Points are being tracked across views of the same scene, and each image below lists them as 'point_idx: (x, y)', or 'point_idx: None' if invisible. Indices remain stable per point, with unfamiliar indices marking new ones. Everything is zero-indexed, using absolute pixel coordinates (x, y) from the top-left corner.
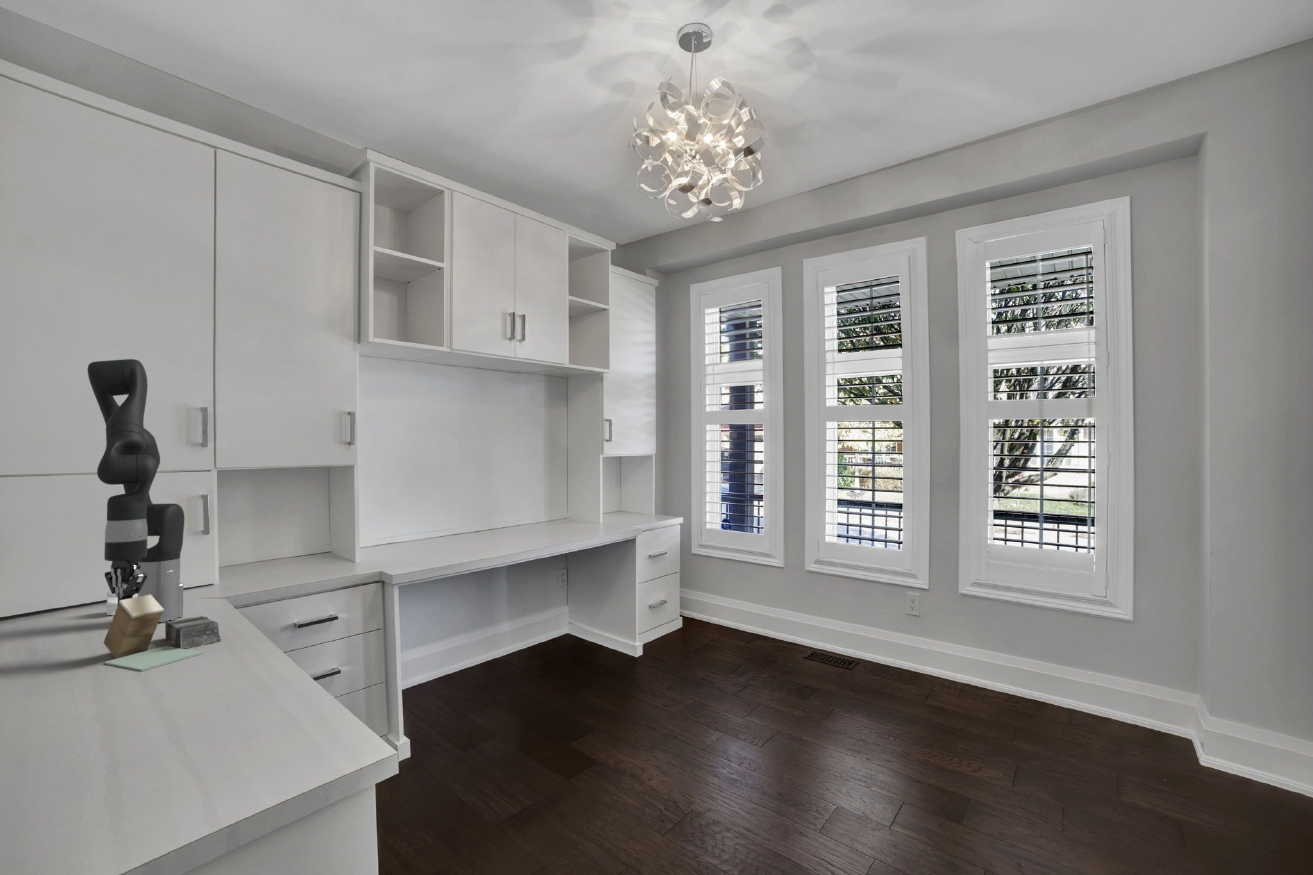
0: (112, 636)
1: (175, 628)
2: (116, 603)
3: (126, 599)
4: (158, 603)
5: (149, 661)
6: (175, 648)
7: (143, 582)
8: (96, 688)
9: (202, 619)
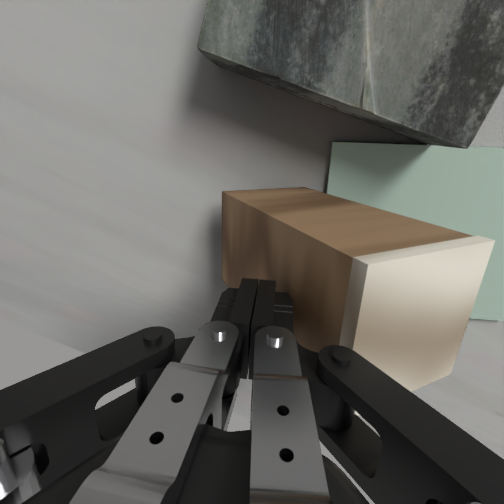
0: None
1: (379, 116)
2: None
3: None
4: (453, 250)
5: None
6: (410, 152)
7: (481, 450)
8: (499, 410)
9: None
